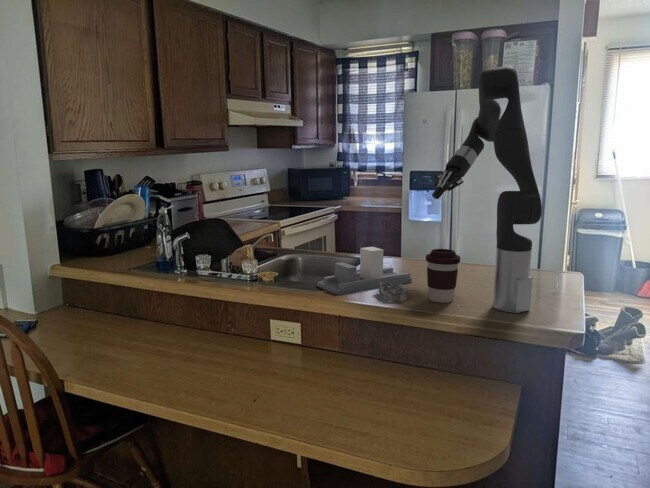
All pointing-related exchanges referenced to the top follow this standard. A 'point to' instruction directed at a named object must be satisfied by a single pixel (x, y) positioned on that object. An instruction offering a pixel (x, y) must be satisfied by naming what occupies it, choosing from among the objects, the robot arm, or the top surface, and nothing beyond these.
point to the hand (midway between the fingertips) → (434, 197)
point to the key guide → (364, 282)
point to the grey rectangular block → (345, 272)
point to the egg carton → (393, 292)
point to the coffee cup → (442, 274)
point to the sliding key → (371, 262)
